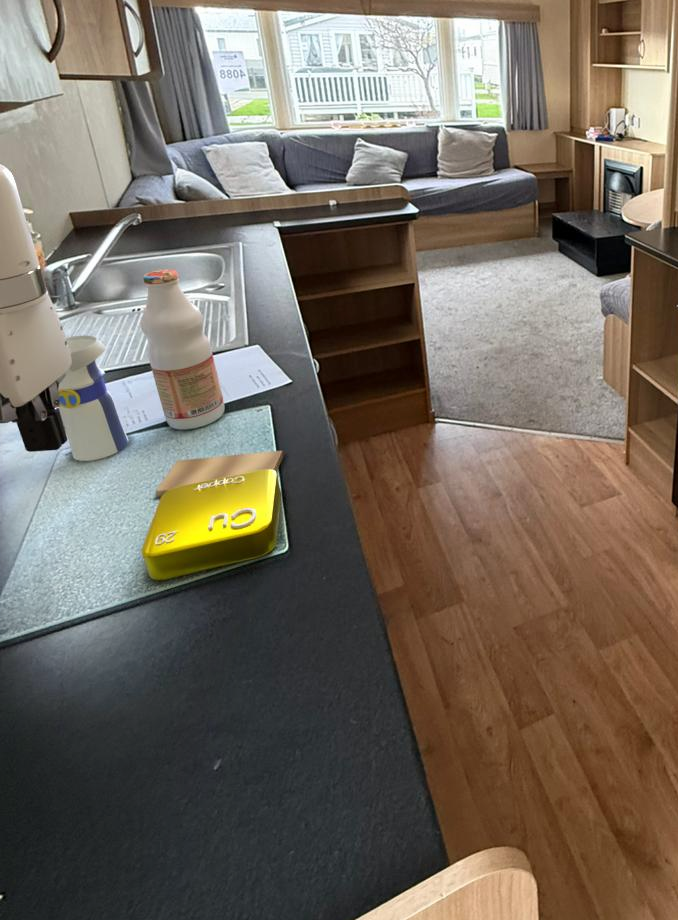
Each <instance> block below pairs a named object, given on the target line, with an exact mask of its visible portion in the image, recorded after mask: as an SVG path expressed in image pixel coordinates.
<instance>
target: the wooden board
mask: <svg viewBox="0 0 678 920" xmlns="http://www.w3.org/2000/svg"><path fill="white" fill-rule="evenodd" d="M283 459H284V453H283V450H275V451H274V450H273V451H262V452H254V453H253V452H251V453H243V454H232V455H224V456H223V455H222V456H212V457H200V458H189V459H181V460H180V459H179V460H177V461H176V462H175V463H174V465H173V466H172V467H171V469H170V471H169V472H168V473H167V475H166V476H165V477H164V478H163V480H162V482H161V483H160V484H159V486H158V487H157V489H156V490H155V494H156V496H157V498H161V497H162V495H163V494H164V493H165V492H166V491H168V490H169V489H172V488H175V487H179V486H183V485H188V484H193V483H198V482H203V481H208V480H213V479H218V478H223V477H228V476H233V475H238V474H243V473H248V472H253V471H259V470H265V469H271V470H274V471H275V472H276V473H277V472H278V469H279V468H280V465H281V463H282V461H283Z"/></svg>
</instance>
